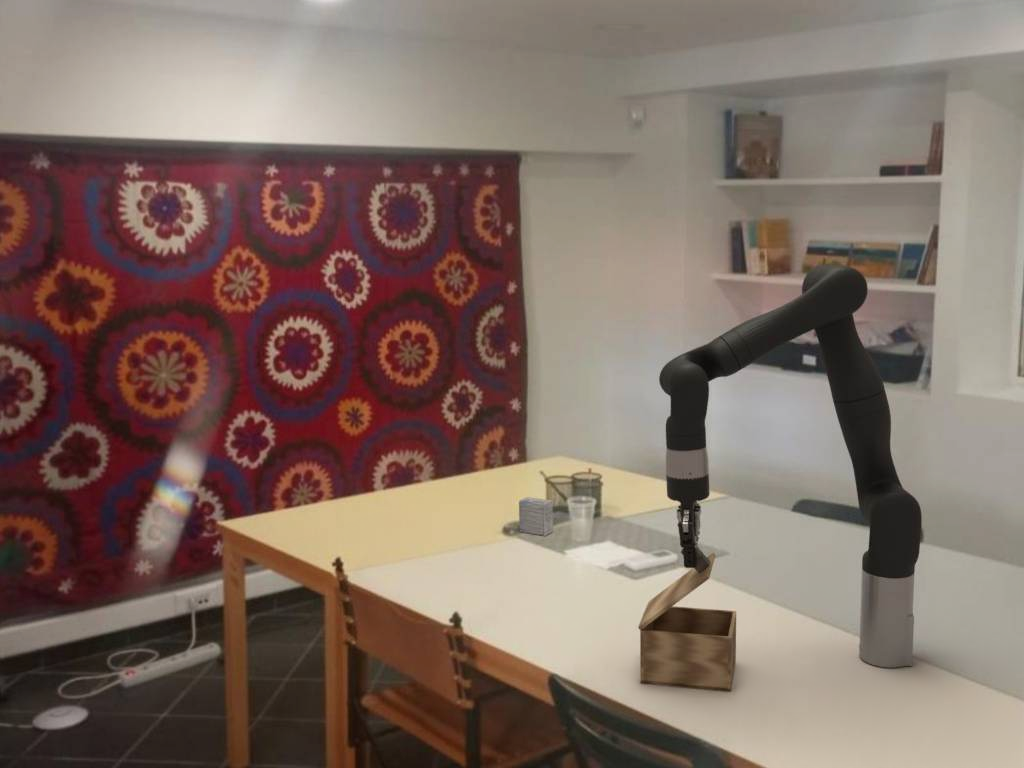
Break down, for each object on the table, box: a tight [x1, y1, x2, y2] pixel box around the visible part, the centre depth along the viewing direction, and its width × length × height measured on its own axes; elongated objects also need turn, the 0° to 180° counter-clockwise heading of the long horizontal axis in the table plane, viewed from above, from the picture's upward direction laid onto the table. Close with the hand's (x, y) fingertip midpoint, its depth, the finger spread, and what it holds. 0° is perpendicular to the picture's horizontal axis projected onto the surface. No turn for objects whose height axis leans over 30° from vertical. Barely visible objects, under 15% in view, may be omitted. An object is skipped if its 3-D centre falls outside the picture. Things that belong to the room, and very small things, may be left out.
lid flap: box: [637, 546, 716, 631], centre depth 201 cm, size 16×13×6 cm
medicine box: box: [518, 496, 554, 537], centre depth 289 cm, size 8×4×9 cm, turn 58°
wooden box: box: [639, 605, 737, 693], centre depth 202 cm, size 16×13×10 cm
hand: (691, 564), depth 200 cm, fingers closed on lid flap, 2 cm apart
